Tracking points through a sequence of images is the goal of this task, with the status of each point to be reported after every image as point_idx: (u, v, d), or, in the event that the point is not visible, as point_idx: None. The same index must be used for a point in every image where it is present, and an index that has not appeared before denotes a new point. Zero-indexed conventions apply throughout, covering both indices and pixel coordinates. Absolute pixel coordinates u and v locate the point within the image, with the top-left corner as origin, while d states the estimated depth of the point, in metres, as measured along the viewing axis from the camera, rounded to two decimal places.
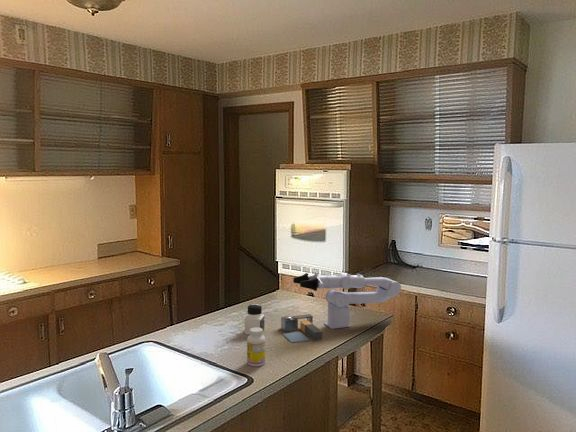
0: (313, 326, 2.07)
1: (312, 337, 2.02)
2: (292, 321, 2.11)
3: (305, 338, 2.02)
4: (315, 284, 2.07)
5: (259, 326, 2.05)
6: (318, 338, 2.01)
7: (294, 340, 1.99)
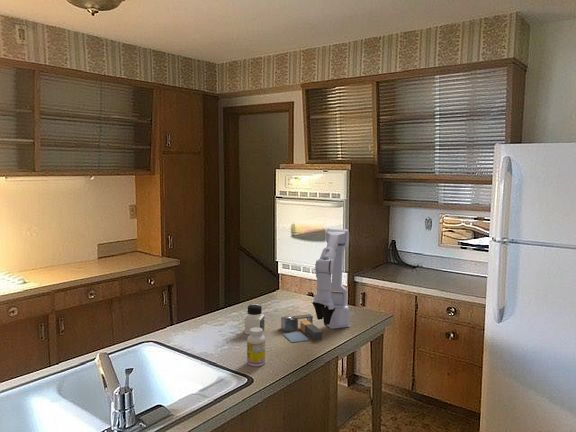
0: (313, 326, 2.07)
1: (312, 337, 2.02)
2: (292, 321, 2.11)
3: (305, 338, 2.02)
4: None
5: (259, 326, 2.05)
6: (318, 338, 2.01)
7: (294, 340, 1.99)
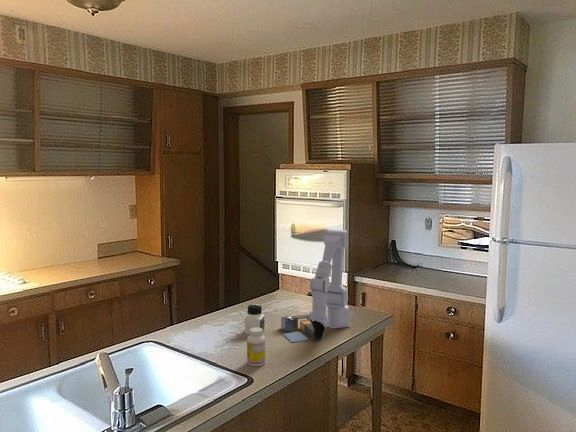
0: (312, 325, 2.08)
1: (311, 336, 2.02)
2: (292, 321, 2.11)
3: (305, 338, 2.02)
4: None
5: (259, 326, 2.05)
6: None
7: (294, 340, 1.99)
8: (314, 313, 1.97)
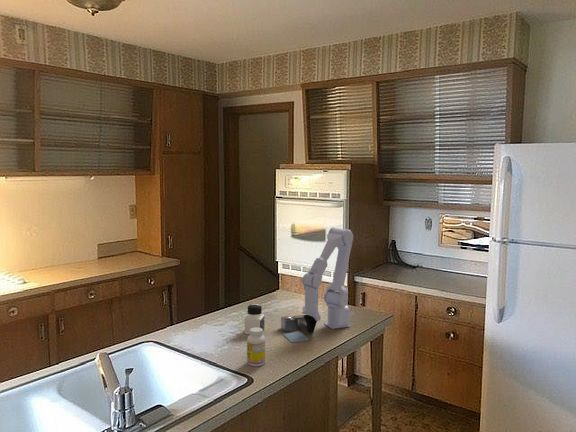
0: None
1: (304, 330, 2.10)
2: (292, 321, 2.11)
3: (305, 338, 2.02)
4: None
5: (259, 326, 2.05)
6: None
7: (294, 340, 1.99)
8: (306, 307, 2.04)
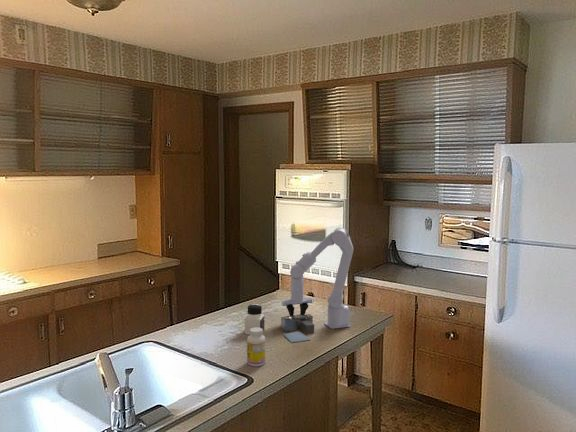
0: (305, 319, 2.15)
1: (304, 330, 2.10)
2: (292, 321, 2.11)
3: (305, 338, 2.02)
4: None
5: (259, 326, 2.05)
6: (310, 331, 2.09)
7: (294, 340, 1.99)
8: None
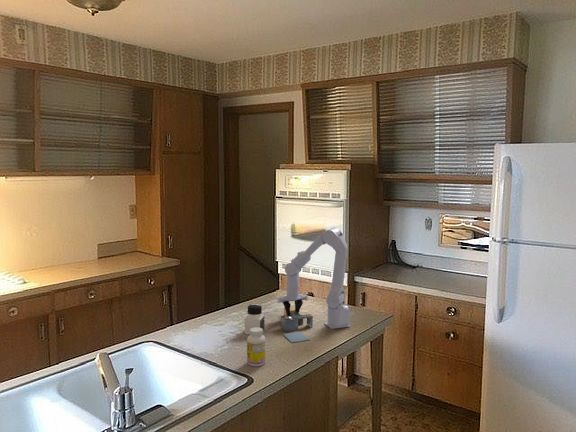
0: (295, 312, 2.26)
1: None
2: (292, 321, 2.11)
3: (305, 338, 2.02)
4: None
5: (259, 326, 2.05)
6: (299, 322, 2.20)
7: (294, 340, 1.99)
8: None
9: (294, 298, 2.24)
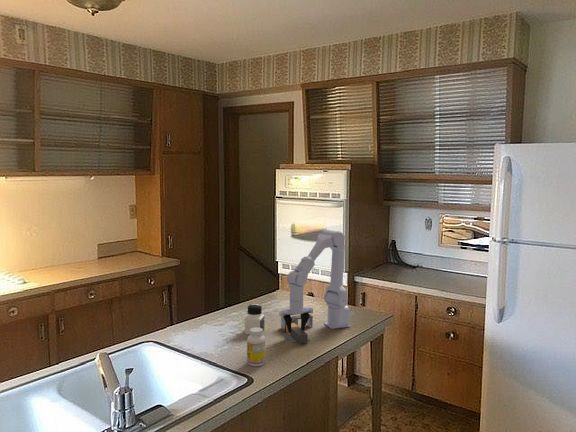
0: (299, 329, 2.02)
1: (297, 340, 1.97)
2: (292, 321, 2.11)
3: None
4: None
5: (259, 326, 2.05)
6: (303, 341, 1.96)
7: (294, 340, 1.99)
8: None
9: (298, 311, 2.00)
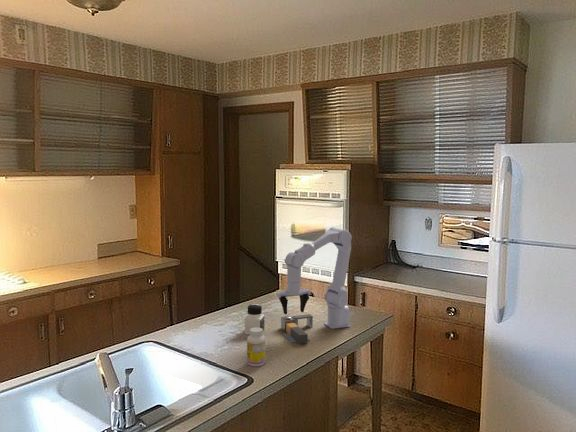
0: (299, 329, 2.02)
1: (297, 340, 1.97)
2: (292, 321, 2.11)
3: None
4: None
5: (259, 326, 2.05)
6: (303, 341, 1.96)
7: (294, 340, 1.99)
8: None
9: (295, 293, 2.02)
